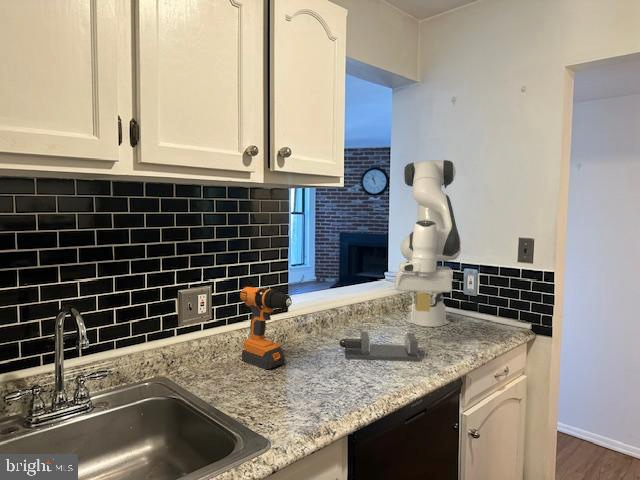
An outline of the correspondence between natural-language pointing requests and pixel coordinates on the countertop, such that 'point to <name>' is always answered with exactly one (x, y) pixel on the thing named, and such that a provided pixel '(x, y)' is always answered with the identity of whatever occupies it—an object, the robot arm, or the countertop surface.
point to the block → (422, 301)
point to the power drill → (262, 326)
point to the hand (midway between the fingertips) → (422, 303)
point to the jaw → (358, 343)
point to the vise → (388, 351)
